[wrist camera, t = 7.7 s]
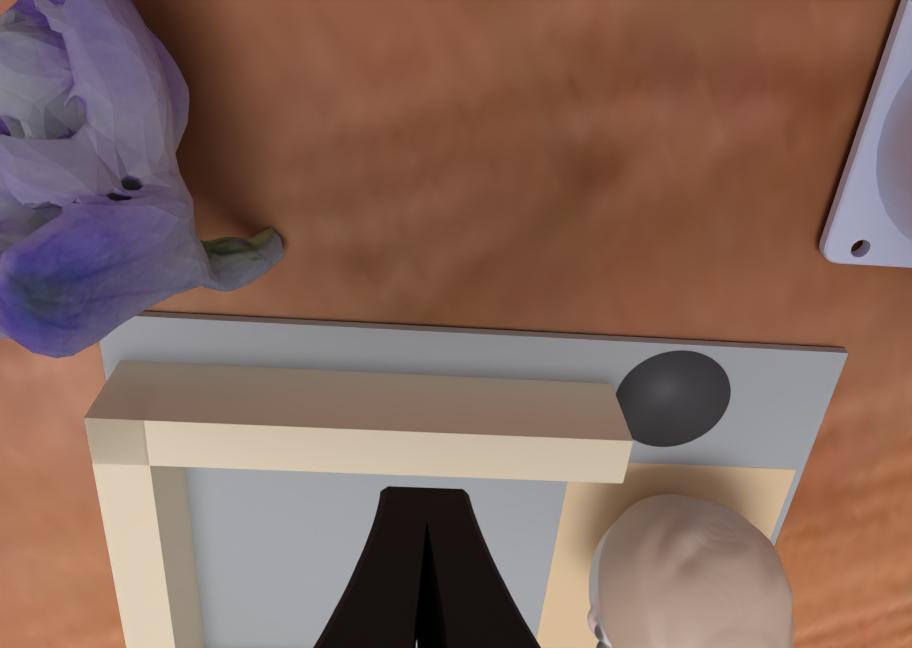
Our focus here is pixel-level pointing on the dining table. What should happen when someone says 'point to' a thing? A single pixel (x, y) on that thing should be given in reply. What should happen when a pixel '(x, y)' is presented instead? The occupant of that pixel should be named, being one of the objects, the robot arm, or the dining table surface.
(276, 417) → the cubby board
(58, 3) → the flower
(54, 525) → the dining table surface
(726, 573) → the garlic bulb
